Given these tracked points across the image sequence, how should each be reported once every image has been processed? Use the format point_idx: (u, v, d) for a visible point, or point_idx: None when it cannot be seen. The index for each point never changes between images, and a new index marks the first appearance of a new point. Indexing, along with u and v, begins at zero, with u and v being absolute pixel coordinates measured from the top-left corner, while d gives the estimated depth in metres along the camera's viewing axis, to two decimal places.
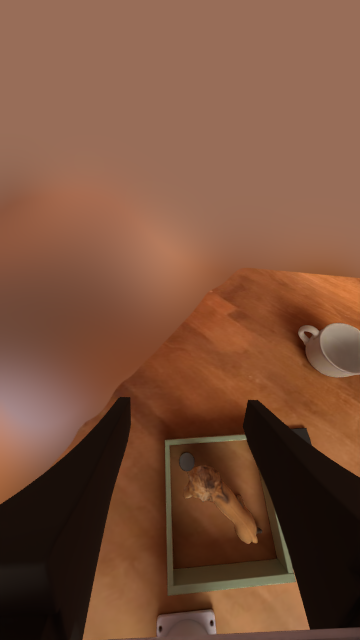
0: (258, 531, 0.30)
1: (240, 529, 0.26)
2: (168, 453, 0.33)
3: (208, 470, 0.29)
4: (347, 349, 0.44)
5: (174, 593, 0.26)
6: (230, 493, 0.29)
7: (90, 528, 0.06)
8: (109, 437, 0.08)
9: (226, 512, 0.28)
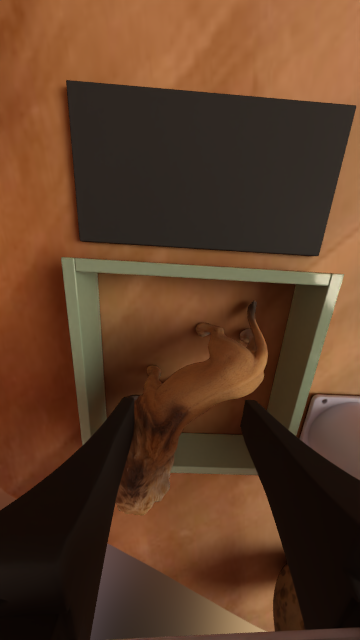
0: (253, 311, 0.15)
1: (237, 397, 0.11)
2: None
3: None
4: None
5: None
6: (173, 394, 0.12)
7: (97, 528, 0.06)
8: (115, 437, 0.08)
9: (204, 410, 0.12)
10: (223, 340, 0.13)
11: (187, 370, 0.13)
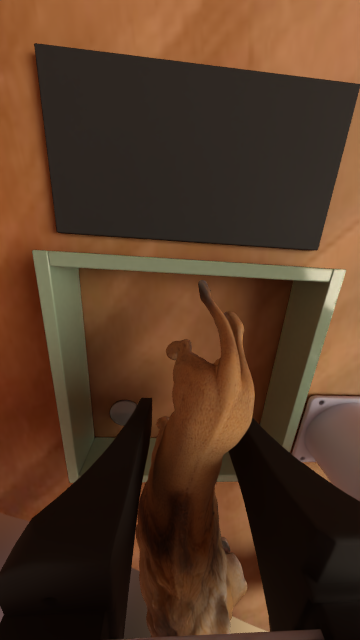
0: (205, 295, 0.10)
1: (233, 446, 0.07)
2: None
3: (143, 586, 0.08)
4: None
5: None
6: (160, 477, 0.08)
7: (129, 527, 0.06)
8: (140, 437, 0.08)
9: (213, 476, 0.08)
10: (178, 367, 0.09)
11: (165, 430, 0.09)
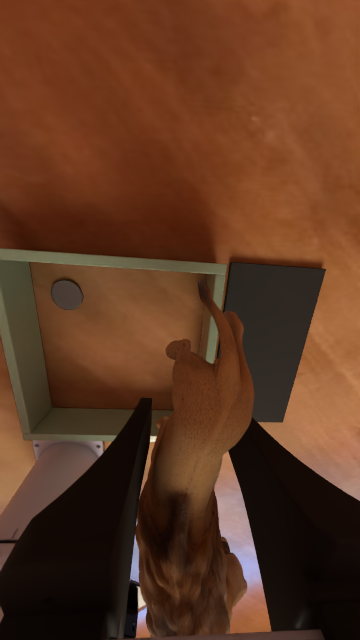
0: (205, 295, 0.10)
1: (232, 446, 0.07)
2: None
3: None
4: None
5: (33, 439, 0.19)
6: (159, 477, 0.08)
7: (129, 527, 0.06)
8: (140, 437, 0.08)
9: (213, 475, 0.08)
10: (177, 367, 0.09)
11: (164, 429, 0.09)
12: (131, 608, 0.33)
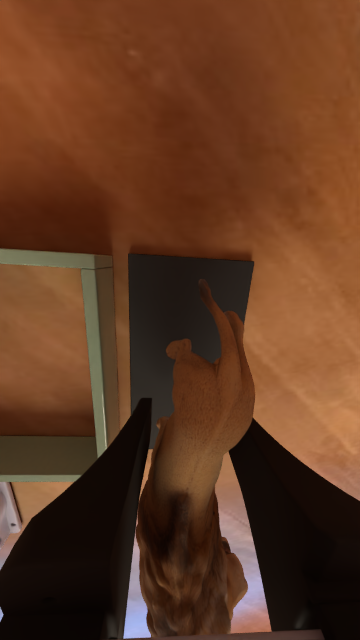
0: (205, 295, 0.10)
1: (233, 446, 0.07)
2: None
3: (143, 586, 0.08)
4: None
5: None
6: (160, 477, 0.08)
7: (129, 527, 0.06)
8: (139, 437, 0.08)
9: (213, 475, 0.08)
10: (178, 366, 0.09)
11: (165, 429, 0.09)
12: None
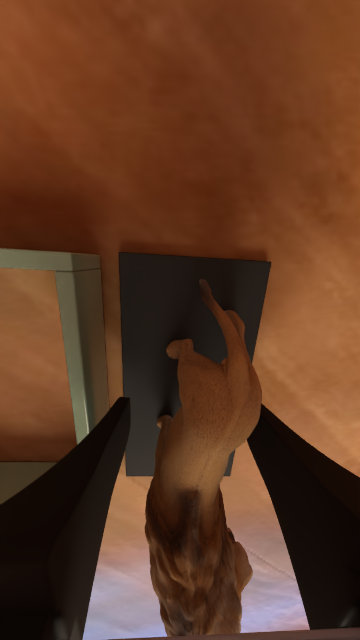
0: (207, 295, 0.11)
1: (242, 442, 0.07)
2: None
3: (154, 582, 0.08)
4: None
5: None
6: (169, 476, 0.08)
7: (90, 528, 0.06)
8: (109, 437, 0.08)
9: (221, 471, 0.08)
10: (184, 367, 0.09)
11: (171, 429, 0.09)
12: None
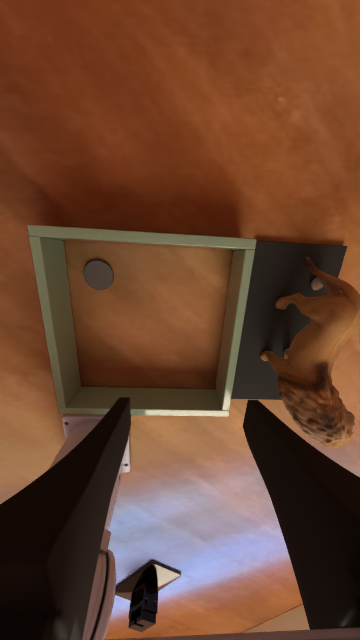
0: (312, 265, 0.18)
1: (356, 331, 0.14)
2: (38, 252, 0.15)
3: (299, 416, 0.16)
4: None
5: (67, 413, 0.20)
6: (307, 359, 0.15)
7: (90, 528, 0.06)
8: (109, 437, 0.08)
9: (336, 355, 0.15)
10: (312, 302, 0.16)
11: (302, 338, 0.16)
12: (151, 586, 0.34)
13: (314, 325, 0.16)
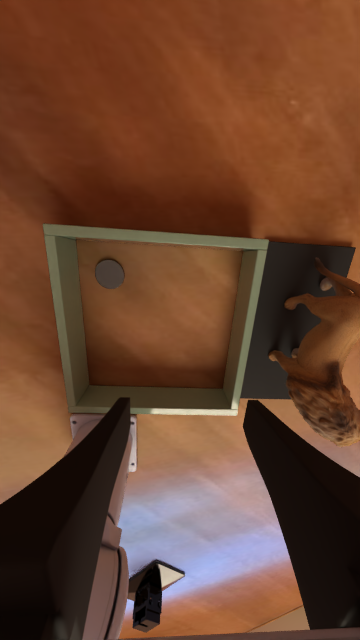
0: (322, 266, 0.18)
1: None
2: (53, 251, 0.15)
3: (310, 414, 0.16)
4: None
5: (77, 411, 0.20)
6: (318, 358, 0.16)
7: (90, 528, 0.06)
8: (109, 437, 0.08)
9: (347, 354, 0.15)
10: (323, 302, 0.16)
11: (312, 338, 0.16)
12: (155, 586, 0.34)
13: (325, 325, 0.16)
